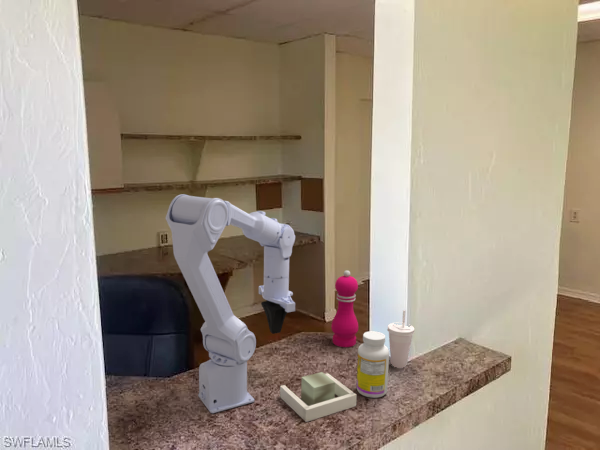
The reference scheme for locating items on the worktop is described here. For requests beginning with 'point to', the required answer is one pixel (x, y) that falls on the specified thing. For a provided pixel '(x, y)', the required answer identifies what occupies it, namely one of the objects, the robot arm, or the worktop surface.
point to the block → (317, 388)
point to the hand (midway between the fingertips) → (275, 332)
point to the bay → (323, 408)
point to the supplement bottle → (372, 365)
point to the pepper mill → (345, 312)
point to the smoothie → (400, 342)
